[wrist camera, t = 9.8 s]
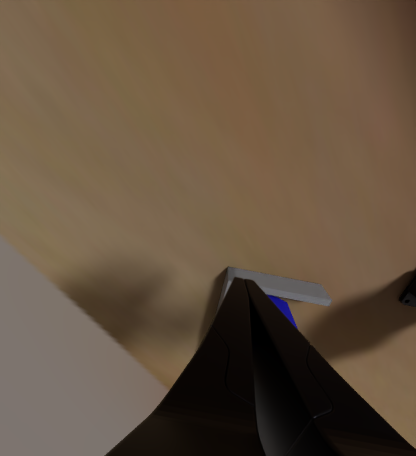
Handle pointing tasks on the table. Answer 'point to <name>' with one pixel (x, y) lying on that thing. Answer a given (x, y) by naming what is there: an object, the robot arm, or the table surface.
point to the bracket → (279, 287)
